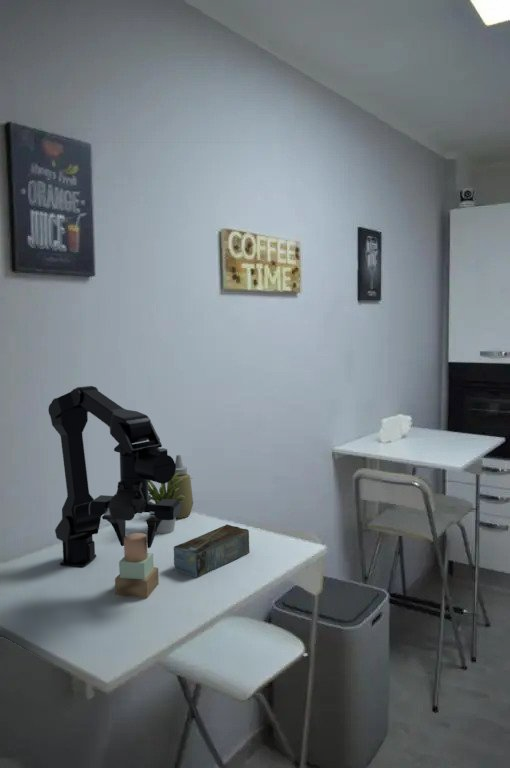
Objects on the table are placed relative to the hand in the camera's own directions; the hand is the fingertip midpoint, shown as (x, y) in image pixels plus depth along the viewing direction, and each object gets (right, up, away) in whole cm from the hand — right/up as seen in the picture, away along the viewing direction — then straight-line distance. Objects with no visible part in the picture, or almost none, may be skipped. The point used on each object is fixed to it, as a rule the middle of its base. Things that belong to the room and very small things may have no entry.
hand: (136, 546), depth 131 cm
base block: (0, -10, +1) cm, 10 cm away
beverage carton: (+15, -8, +16) cm, 24 cm away
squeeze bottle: (+3, -4, +50) cm, 50 cm away
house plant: (+2, -6, +38) cm, 39 cm away
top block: (0, -6, +1) cm, 6 cm away
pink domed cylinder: (0, -2, 0) cm, 2 cm away
